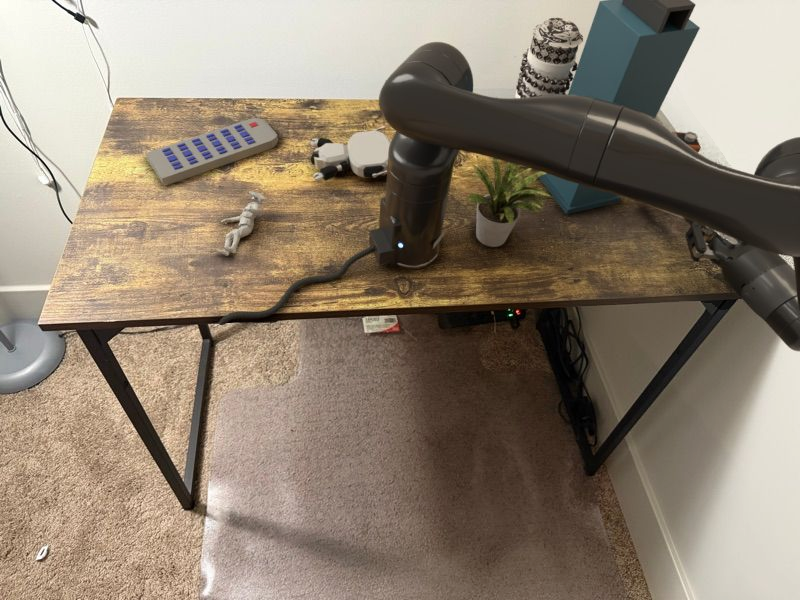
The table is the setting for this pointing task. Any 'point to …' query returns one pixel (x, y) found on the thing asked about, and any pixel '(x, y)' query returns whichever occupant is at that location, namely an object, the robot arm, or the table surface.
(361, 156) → the robot toy
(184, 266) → the table surface
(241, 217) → the soldier figure
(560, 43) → the decorative candle
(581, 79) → the teal tall rectangular block
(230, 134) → the remote control
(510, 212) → the house plant
